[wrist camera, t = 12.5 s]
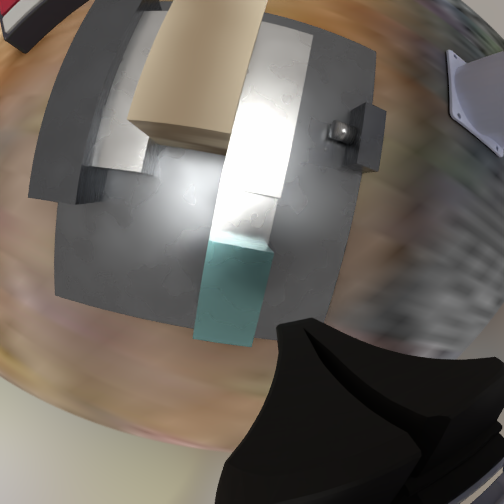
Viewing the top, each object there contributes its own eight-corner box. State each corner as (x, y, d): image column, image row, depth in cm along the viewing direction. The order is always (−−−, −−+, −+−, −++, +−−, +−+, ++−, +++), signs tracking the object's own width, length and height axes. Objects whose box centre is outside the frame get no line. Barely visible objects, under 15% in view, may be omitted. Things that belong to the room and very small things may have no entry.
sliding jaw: (301, 53, 14) (319, 25, 10) (244, 316, 17) (251, 347, 13) (255, 41, 13) (265, 10, 10) (197, 308, 16) (192, 338, 13)
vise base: (374, 53, 14) (401, 33, 11) (315, 341, 18) (334, 371, 15) (124, 5, 11) (110, -23, 8) (57, 293, 16) (29, 314, 12)
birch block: (252, 55, 14) (267, -1, 8) (226, 155, 15) (230, 133, 9) (189, 45, 13) (179, -11, 7) (159, 144, 14) (126, 119, 8)
